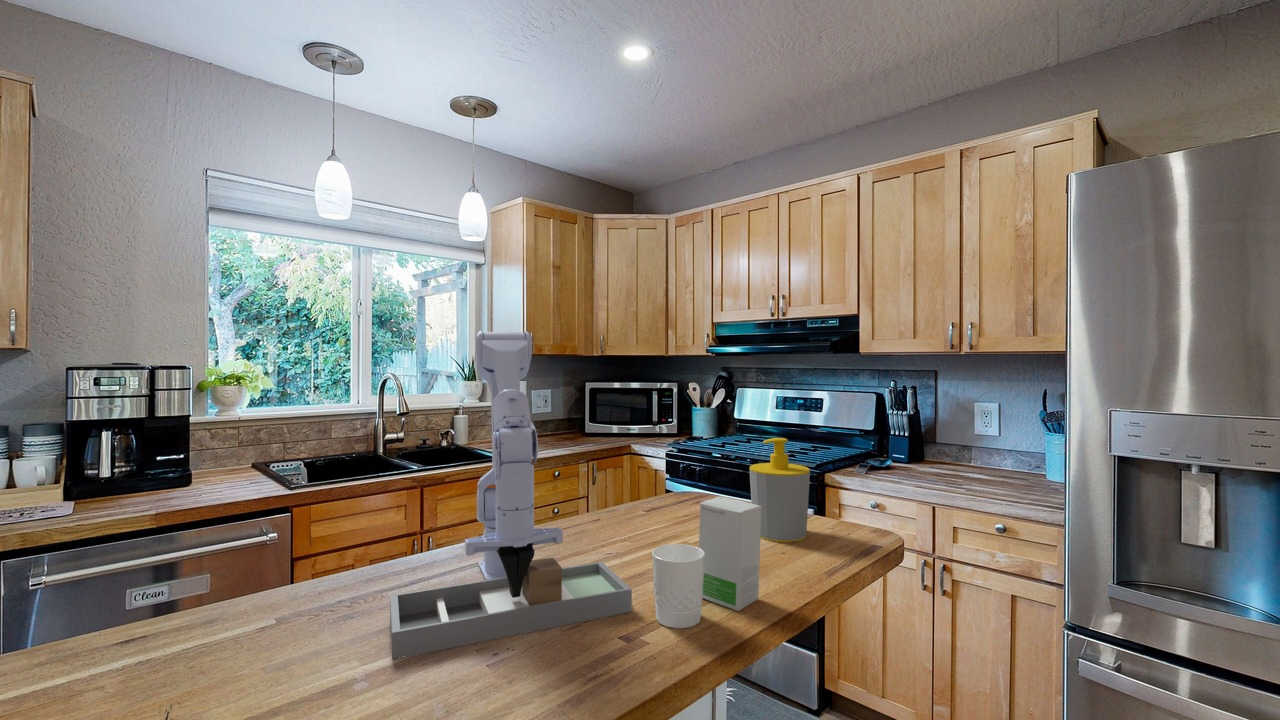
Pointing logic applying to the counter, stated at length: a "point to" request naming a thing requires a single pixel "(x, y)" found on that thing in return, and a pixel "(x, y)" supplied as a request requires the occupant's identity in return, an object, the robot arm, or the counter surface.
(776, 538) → the soap bottle
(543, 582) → the walnut block
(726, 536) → the skincare box
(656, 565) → the white cup
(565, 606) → the box
